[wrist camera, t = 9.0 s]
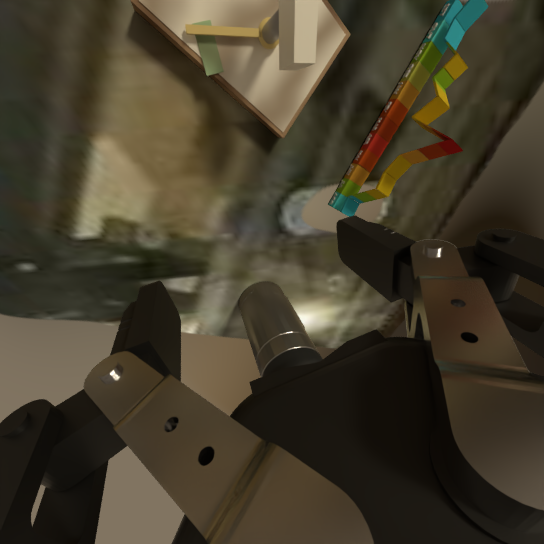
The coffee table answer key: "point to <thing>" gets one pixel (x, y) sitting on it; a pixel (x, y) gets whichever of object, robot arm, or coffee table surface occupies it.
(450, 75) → the chart
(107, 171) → the coffee table surface
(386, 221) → the coffee table surface
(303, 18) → the wooden mallet
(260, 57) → the desk tray with supplies
